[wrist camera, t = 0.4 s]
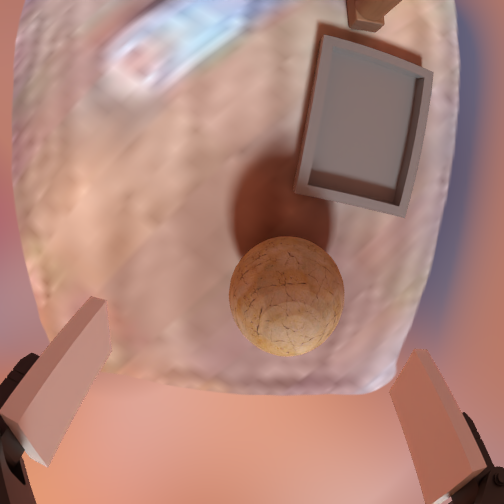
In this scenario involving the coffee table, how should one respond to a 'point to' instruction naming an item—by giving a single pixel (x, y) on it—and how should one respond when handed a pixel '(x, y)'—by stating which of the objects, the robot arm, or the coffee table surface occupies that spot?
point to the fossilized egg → (286, 295)
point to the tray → (363, 127)
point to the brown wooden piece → (368, 13)
